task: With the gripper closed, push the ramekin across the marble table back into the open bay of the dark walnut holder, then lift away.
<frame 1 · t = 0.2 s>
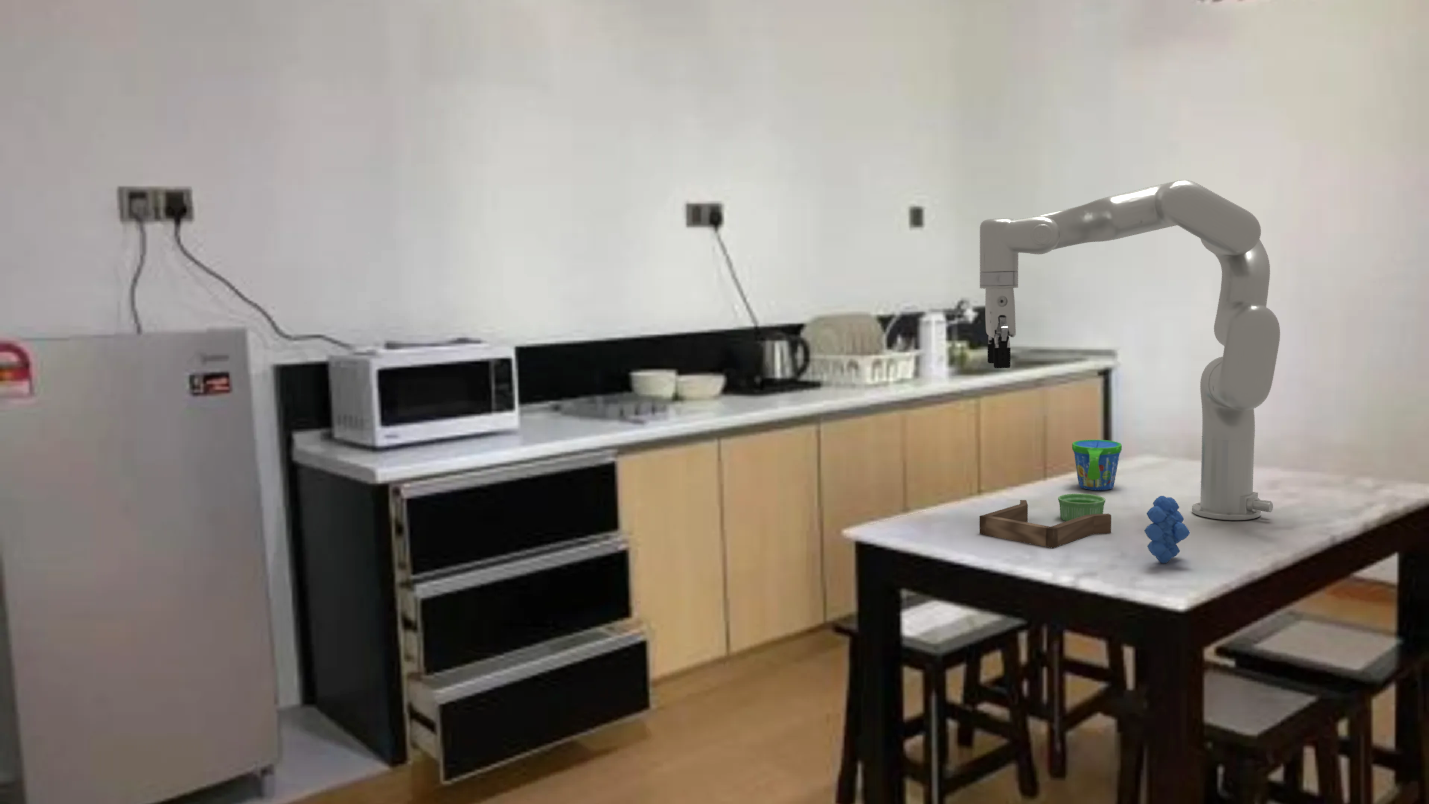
hand: (998, 365, 231), 31 cm above the table, fingers open, 9 cm apart
grapes: (1169, 565, 194), on the table
snack cup: (1096, 488, 256), on the table
ramekin: (1081, 520, 228), on the table
walnut holder: (1036, 533, 217), on the table
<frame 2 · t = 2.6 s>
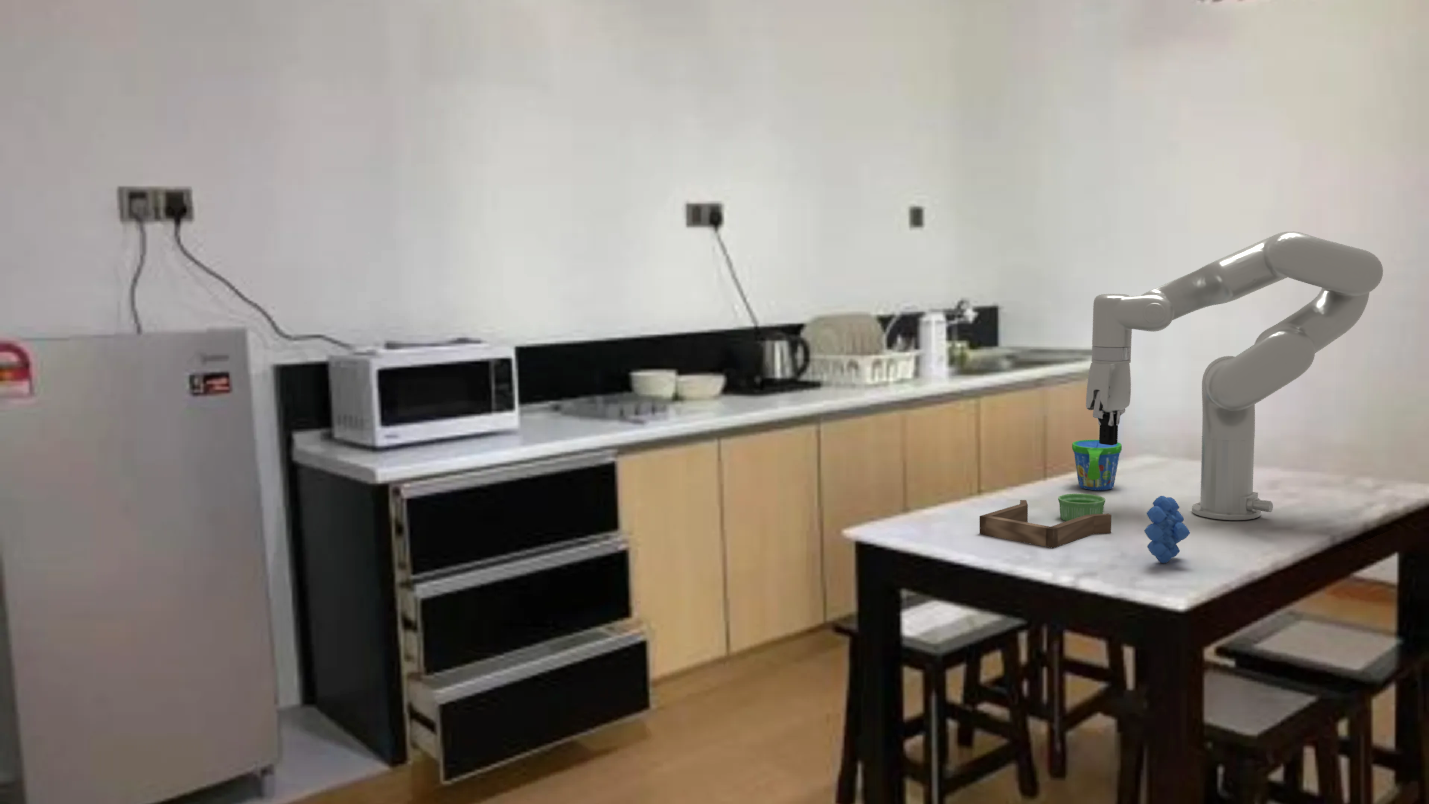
hand: (1108, 443, 233), 14 cm above the table, fingers closed
nothing on the table moved.
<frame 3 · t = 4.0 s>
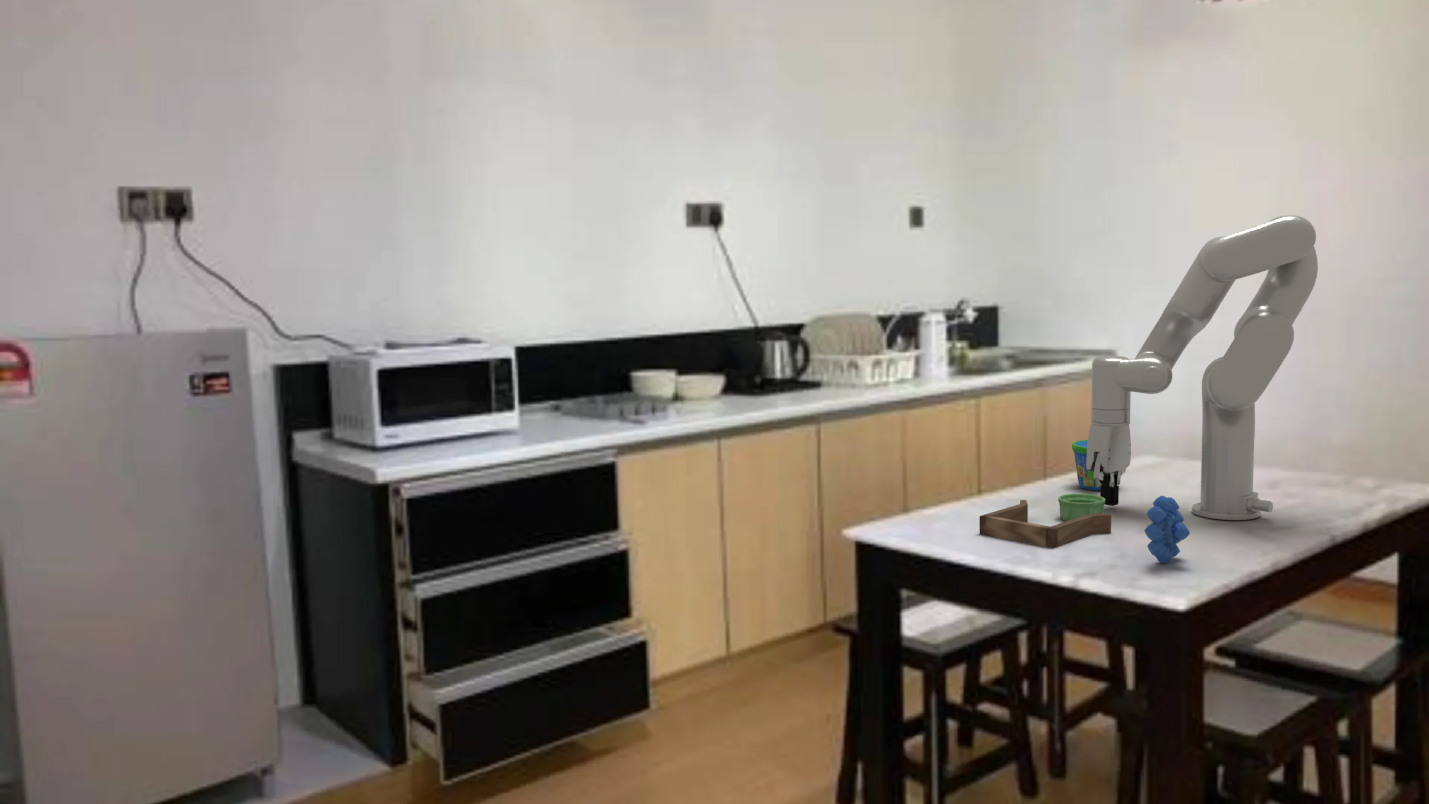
hand: (1109, 504, 235), 1 cm above the table, fingers closed
nothing on the table moved.
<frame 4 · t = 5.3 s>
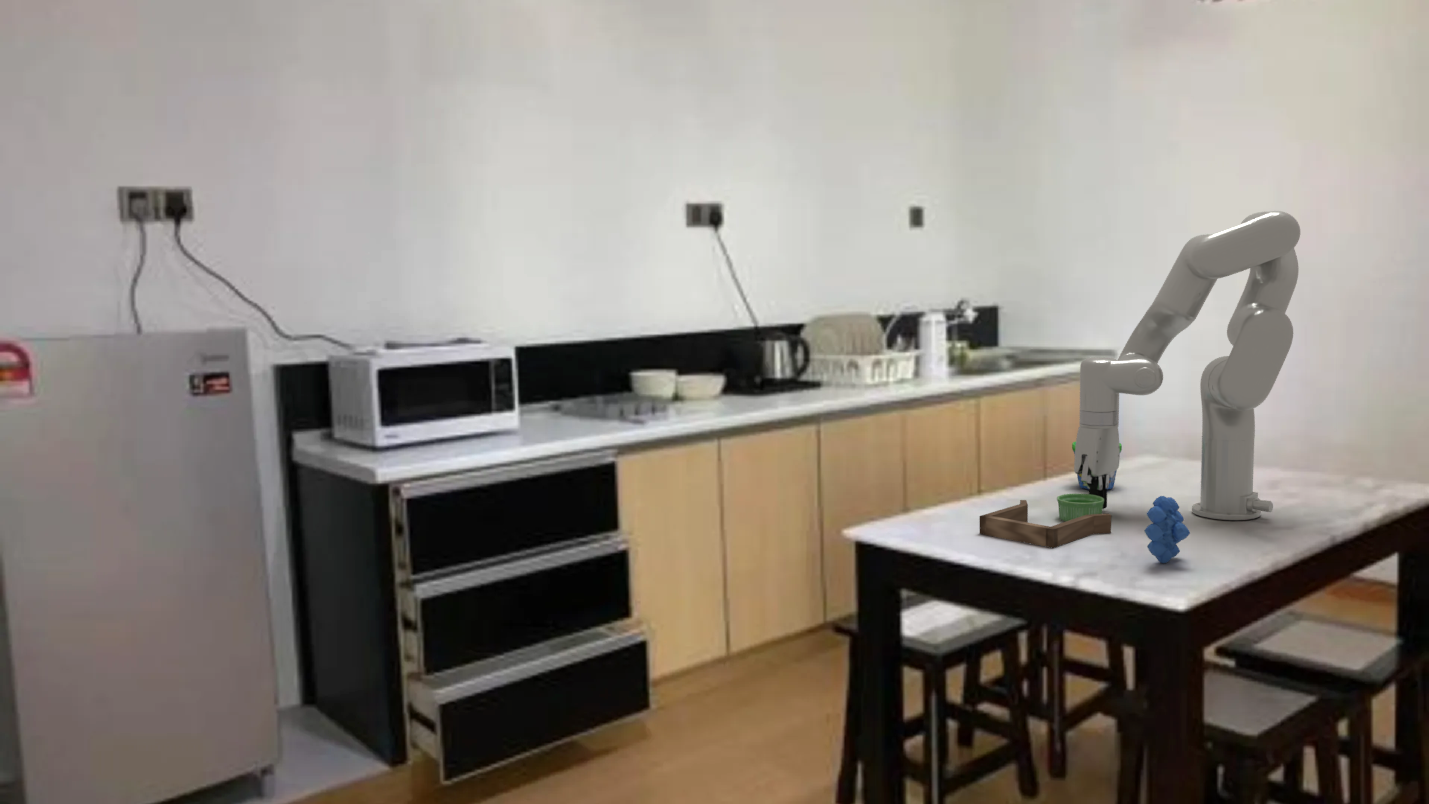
hand: (1097, 507, 232), 1 cm above the table, fingers closed
ramekin: (1080, 520, 227), on the table, touching gripper
everything else where it was.
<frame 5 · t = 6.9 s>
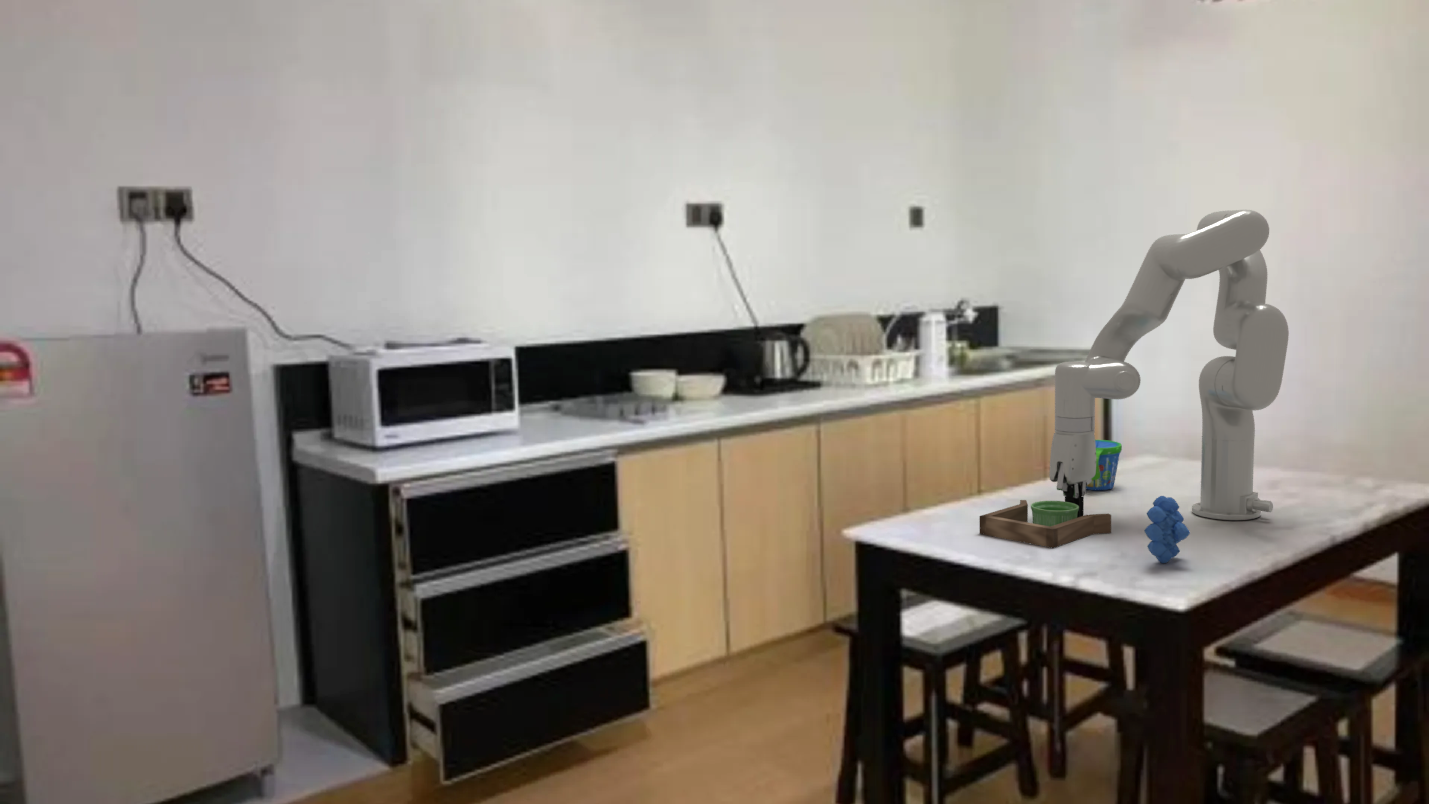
hand: (1074, 515, 226), 1 cm above the table, fingers closed
ramekin: (1054, 528, 221), on the table, touching gripper
everything else where it was.
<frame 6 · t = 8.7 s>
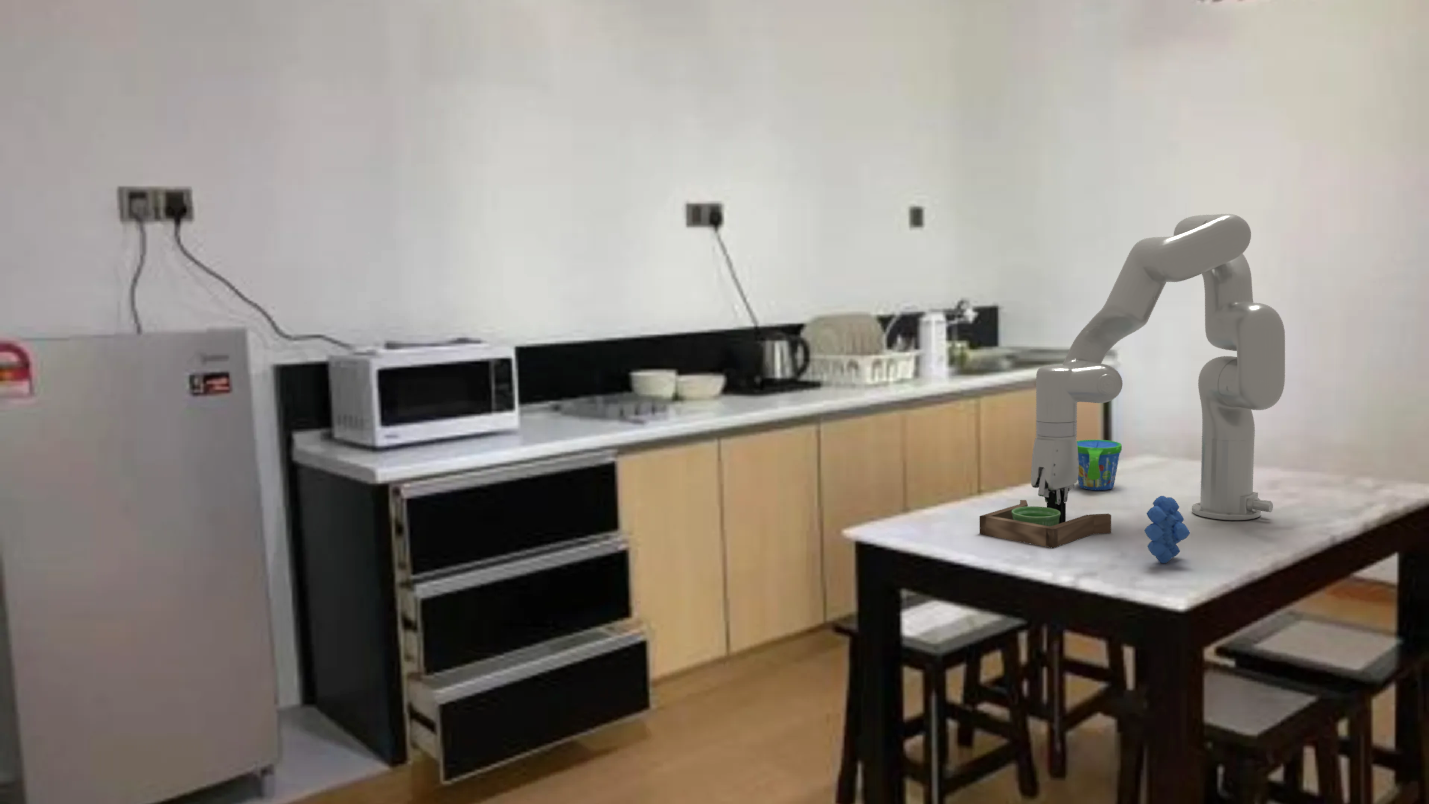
hand: (1056, 522, 221), 1 cm above the table, fingers closed
ramekin: (1035, 534, 217), on the table, touching gripper
everything else where it was.
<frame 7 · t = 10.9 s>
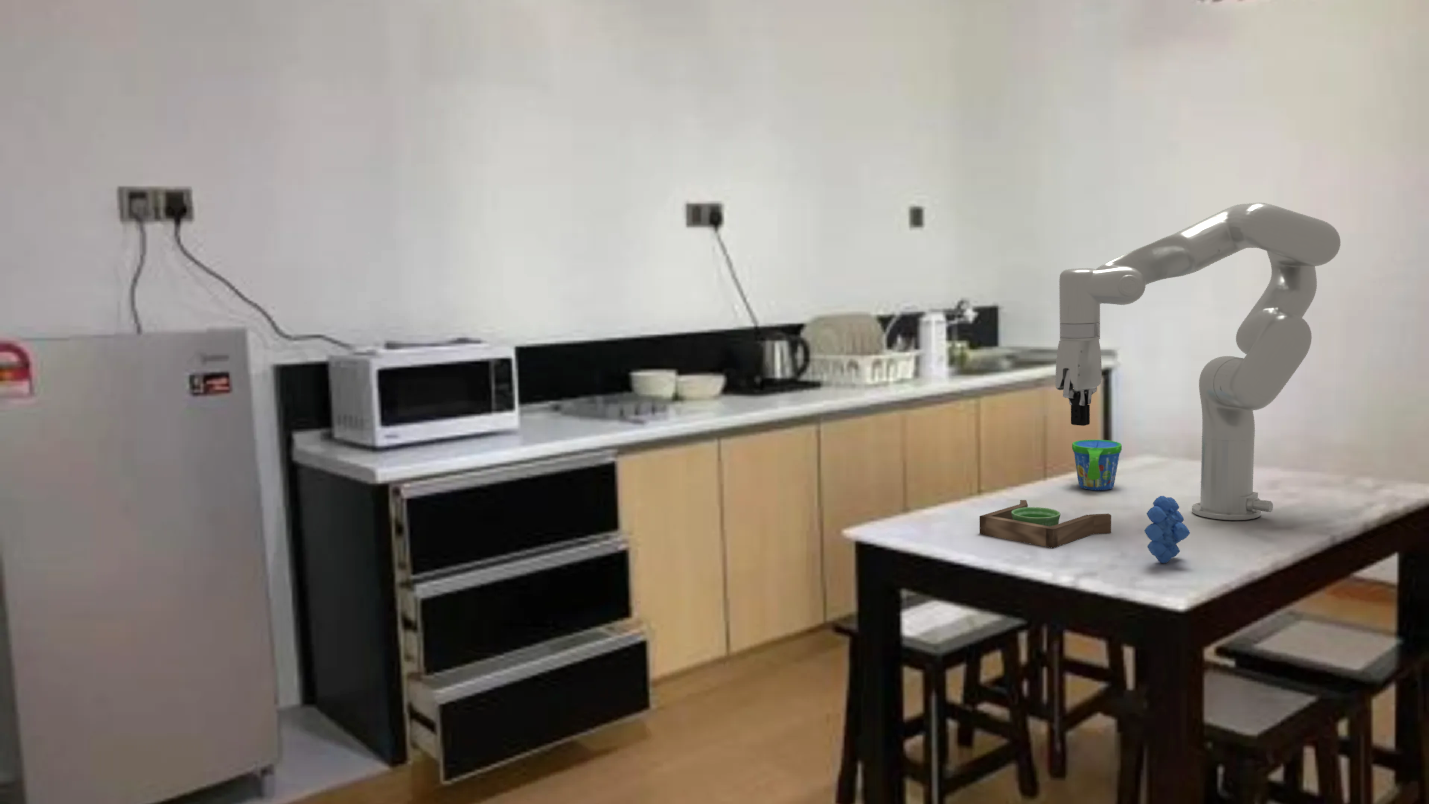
hand: (1080, 424, 225), 19 cm above the table, fingers closed
ramekin: (1035, 535, 217), on the table
everything else where it was.
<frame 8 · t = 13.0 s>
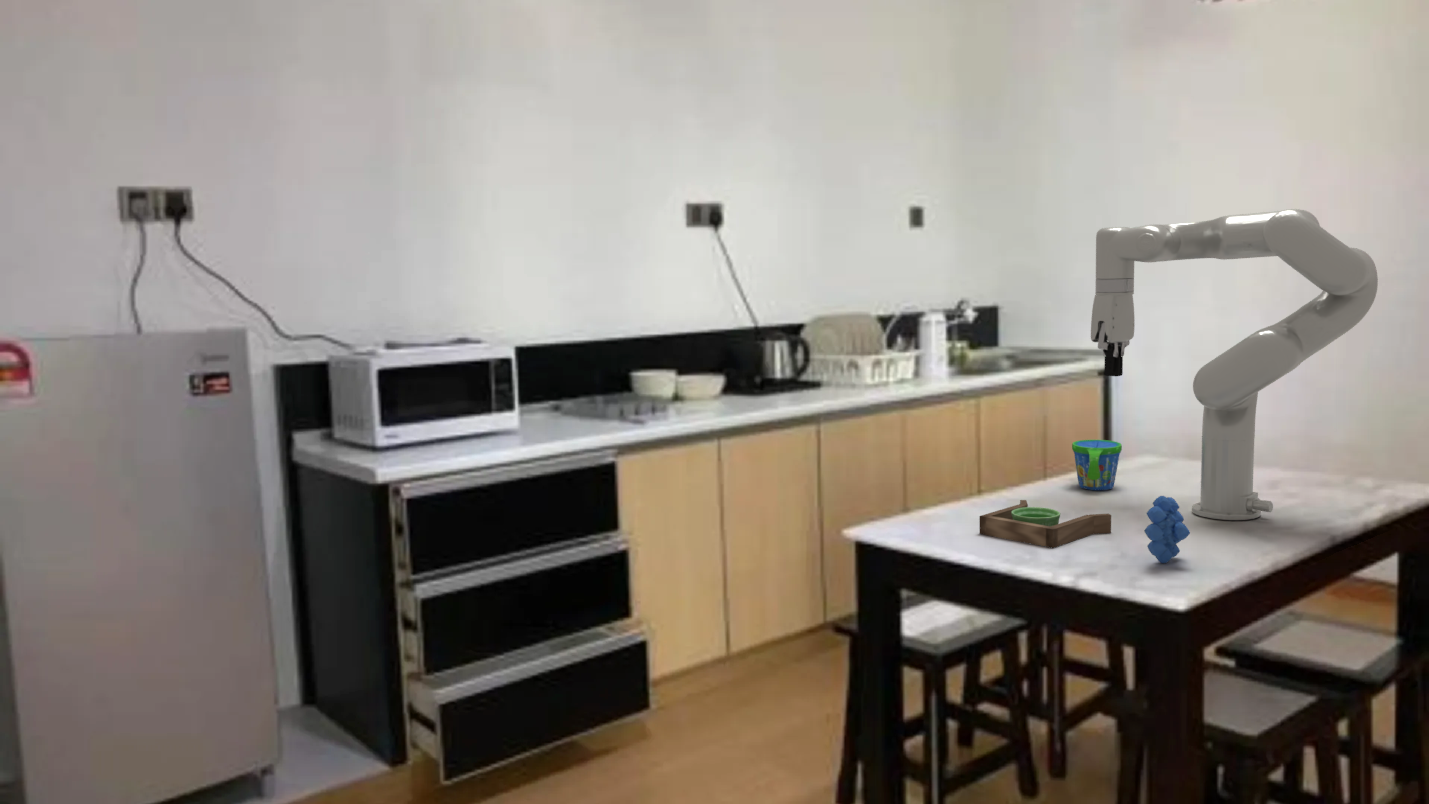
hand: (1113, 375, 237), 27 cm above the table, fingers closed
nothing on the table moved.
at the end: ramekin inside the target area on the walnut holder (1.2 cm from its centre), point 0.0 cm above the walnut holder's base; ramekin tilted 0°; ramekin moved 16.2 cm from its start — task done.
